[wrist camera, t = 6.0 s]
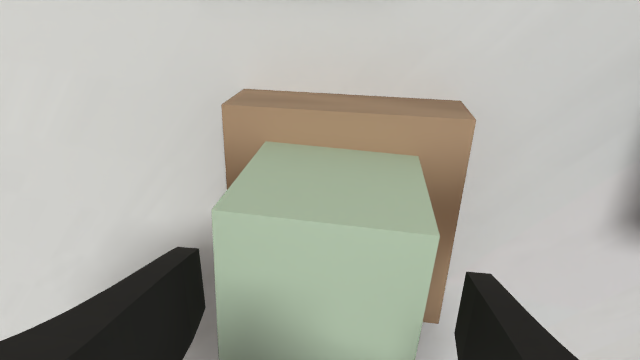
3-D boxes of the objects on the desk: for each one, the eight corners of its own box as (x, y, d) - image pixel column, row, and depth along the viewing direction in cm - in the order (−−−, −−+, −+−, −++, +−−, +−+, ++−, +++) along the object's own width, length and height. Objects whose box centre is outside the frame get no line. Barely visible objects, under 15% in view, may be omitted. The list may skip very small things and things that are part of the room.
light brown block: (429, 276, 19) (438, 323, 16) (254, 259, 20) (234, 301, 17) (458, 98, 15) (476, 119, 13) (247, 86, 16) (221, 104, 14)
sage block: (397, 283, 15) (406, 402, 11) (264, 266, 16) (219, 373, 11) (418, 155, 13) (440, 235, 9) (265, 141, 14) (211, 210, 9)
